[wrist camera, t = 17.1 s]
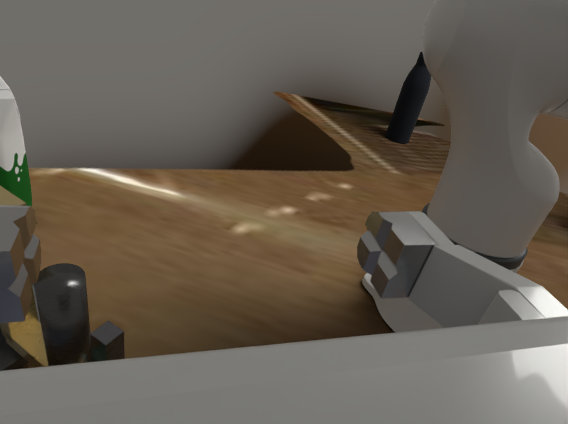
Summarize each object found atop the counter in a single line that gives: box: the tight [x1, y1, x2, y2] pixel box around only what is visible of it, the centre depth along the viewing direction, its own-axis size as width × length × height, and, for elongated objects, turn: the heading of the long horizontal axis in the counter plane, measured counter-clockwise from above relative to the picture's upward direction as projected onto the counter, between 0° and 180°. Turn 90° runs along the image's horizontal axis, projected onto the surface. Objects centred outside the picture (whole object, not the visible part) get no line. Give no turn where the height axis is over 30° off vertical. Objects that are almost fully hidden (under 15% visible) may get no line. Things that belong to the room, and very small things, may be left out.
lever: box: [0, 186, 93, 368], centre depth 34 cm, size 16×6×13 cm, turn 59°
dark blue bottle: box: [386, 51, 431, 144], centre depth 103 cm, size 6×6×30 cm
